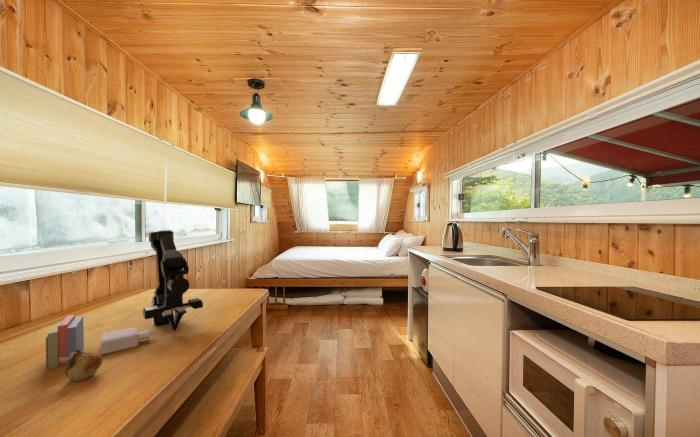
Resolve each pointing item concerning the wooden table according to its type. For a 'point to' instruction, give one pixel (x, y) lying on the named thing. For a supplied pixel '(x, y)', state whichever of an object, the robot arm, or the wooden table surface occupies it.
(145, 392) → the wooden table surface
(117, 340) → the charger
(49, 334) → the book row
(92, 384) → the wooden table surface
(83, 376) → the onion
